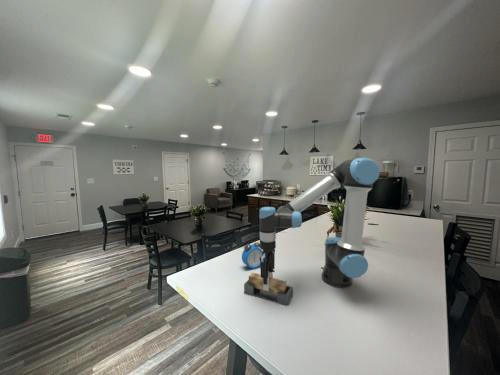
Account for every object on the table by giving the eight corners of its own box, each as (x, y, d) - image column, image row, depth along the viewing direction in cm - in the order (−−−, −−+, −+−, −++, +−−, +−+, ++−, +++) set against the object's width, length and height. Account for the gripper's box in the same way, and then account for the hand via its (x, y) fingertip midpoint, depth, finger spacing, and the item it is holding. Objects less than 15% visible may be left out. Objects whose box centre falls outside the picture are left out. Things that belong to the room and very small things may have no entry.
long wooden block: (286, 291, 94) (286, 281, 94) (283, 296, 91) (283, 285, 90) (252, 281, 102) (252, 272, 102) (248, 285, 99) (248, 276, 99)
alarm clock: (246, 271, 120) (245, 247, 119) (241, 267, 126) (241, 244, 125) (264, 266, 127) (264, 243, 126) (259, 262, 132) (258, 240, 131)
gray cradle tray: (292, 296, 95) (292, 286, 95) (287, 306, 88) (287, 295, 87) (251, 285, 105) (251, 276, 105) (244, 293, 98) (244, 283, 98)
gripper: (267, 234, 104) (267, 277, 105) (252, 244, 89) (253, 295, 90) (281, 236, 101) (281, 281, 102) (267, 246, 86) (268, 299, 87)
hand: (268, 287), depth 96 cm, fingers closed on long wooden block, 4 cm apart
